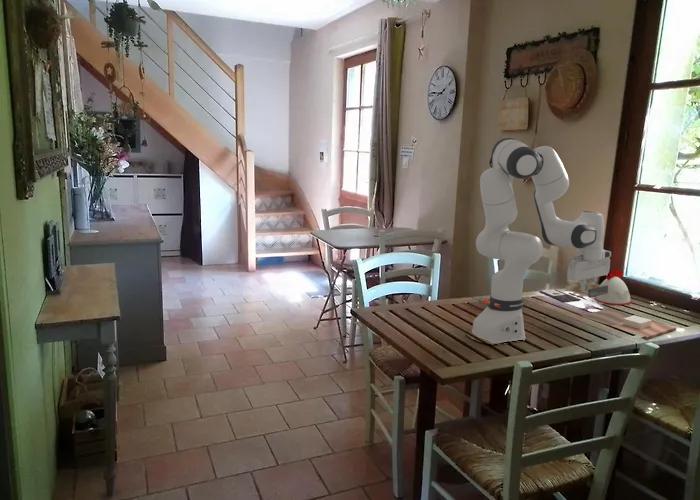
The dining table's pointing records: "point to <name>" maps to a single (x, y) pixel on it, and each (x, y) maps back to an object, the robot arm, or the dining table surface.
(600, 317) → the board
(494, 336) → the robot arm
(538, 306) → the dining table surface
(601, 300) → the kitchen timer
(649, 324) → the tile
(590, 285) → the squeegee
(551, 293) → the chocolate bar
